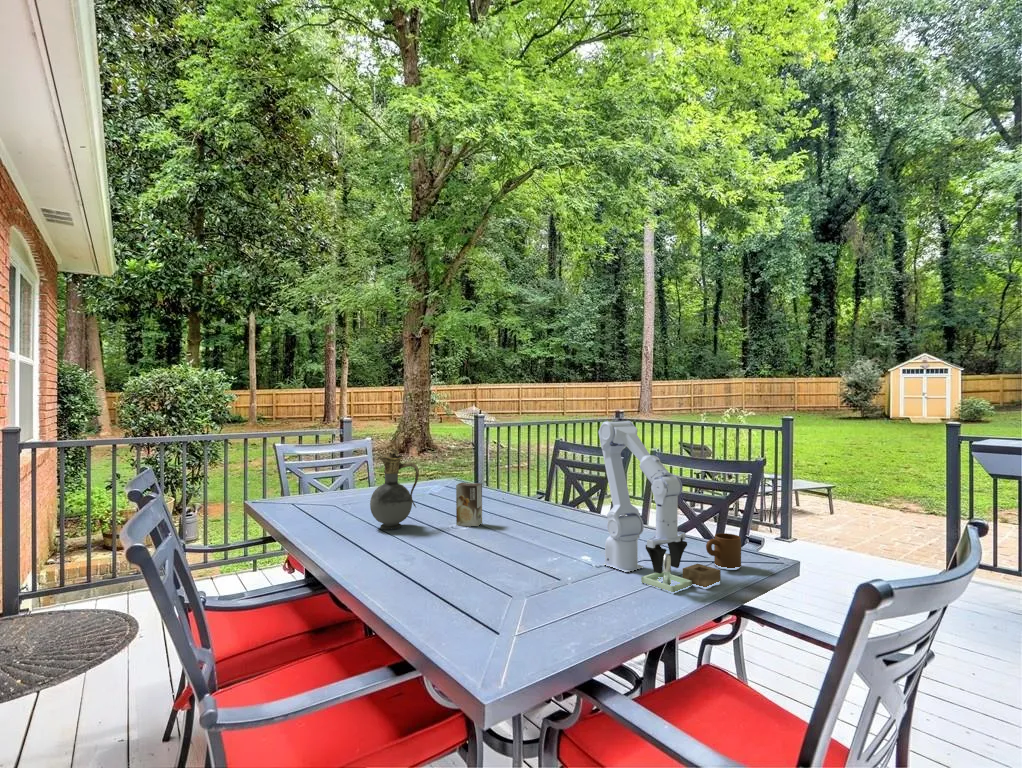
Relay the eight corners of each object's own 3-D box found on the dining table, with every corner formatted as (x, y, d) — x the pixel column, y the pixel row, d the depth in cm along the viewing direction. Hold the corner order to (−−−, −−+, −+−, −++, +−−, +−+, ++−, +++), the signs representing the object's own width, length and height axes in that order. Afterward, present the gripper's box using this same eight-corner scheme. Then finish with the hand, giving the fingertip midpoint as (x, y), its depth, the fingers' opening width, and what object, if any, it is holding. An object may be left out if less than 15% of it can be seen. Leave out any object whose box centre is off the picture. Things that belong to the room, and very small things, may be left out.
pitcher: (366, 526, 218) (367, 449, 218) (413, 521, 228) (414, 446, 228) (375, 533, 209) (375, 452, 209) (423, 527, 218) (424, 449, 219)
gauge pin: (661, 583, 155) (661, 554, 155) (665, 581, 156) (665, 553, 156) (667, 585, 153) (668, 556, 153) (672, 583, 154) (672, 554, 154)
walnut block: (682, 582, 157) (682, 568, 157) (697, 577, 161) (697, 563, 161) (705, 590, 151) (705, 575, 151) (720, 584, 156) (720, 569, 156)
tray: (641, 583, 156) (641, 577, 156) (660, 577, 161) (660, 571, 161) (673, 594, 148) (673, 587, 148) (691, 587, 153) (691, 580, 153)
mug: (716, 574, 164) (716, 542, 164) (697, 567, 171) (697, 535, 171) (746, 569, 169) (746, 537, 169) (727, 562, 176) (727, 532, 176)
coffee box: (483, 523, 224) (483, 483, 225) (477, 527, 218) (477, 485, 218) (461, 522, 227) (461, 482, 227) (455, 525, 221) (455, 484, 221)
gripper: (662, 526, 147) (662, 579, 147) (694, 519, 156) (694, 568, 156) (640, 521, 153) (640, 572, 153) (673, 514, 162) (673, 562, 162)
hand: (666, 569), depth 155 cm, fingers open, 7 cm apart
